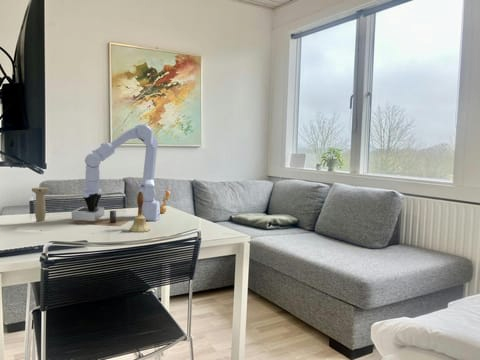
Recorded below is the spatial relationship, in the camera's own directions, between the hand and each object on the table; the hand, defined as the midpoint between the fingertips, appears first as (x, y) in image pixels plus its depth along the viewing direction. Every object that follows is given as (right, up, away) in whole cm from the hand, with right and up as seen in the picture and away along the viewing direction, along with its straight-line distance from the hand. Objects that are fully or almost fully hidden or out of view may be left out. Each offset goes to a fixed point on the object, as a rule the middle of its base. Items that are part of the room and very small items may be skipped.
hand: (92, 211), depth 177 cm
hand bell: (+24, -7, -12) cm, 28 cm away
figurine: (+26, -3, +29) cm, 39 cm away
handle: (-20, -5, -7) cm, 21 cm away
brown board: (+5, -5, -4) cm, 8 cm away
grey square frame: (0, -2, -4) cm, 4 cm away
